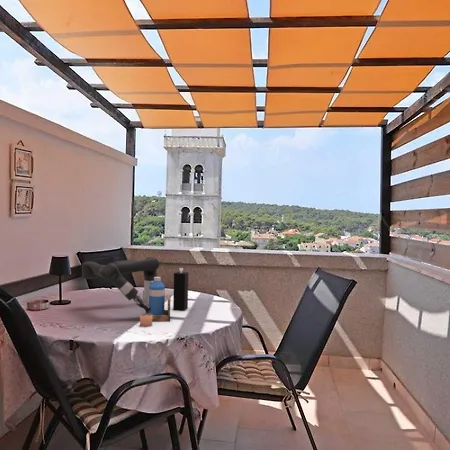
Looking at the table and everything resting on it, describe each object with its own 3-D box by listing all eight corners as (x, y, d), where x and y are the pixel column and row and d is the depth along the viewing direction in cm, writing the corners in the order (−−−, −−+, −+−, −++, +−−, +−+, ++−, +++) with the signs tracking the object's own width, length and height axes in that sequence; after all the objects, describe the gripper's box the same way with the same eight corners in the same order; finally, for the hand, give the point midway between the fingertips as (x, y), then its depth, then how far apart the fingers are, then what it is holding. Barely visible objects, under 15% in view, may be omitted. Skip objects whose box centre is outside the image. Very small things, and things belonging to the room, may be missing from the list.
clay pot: (137, 325, 243) (137, 315, 243) (145, 323, 249) (145, 312, 249) (146, 327, 239) (146, 316, 239) (154, 324, 245) (154, 314, 245)
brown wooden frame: (145, 321, 252) (145, 300, 251) (145, 315, 266) (146, 295, 266) (170, 321, 254) (170, 299, 254) (169, 315, 269) (169, 295, 268)
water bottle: (164, 319, 258) (165, 278, 257) (149, 319, 256) (149, 278, 255) (163, 315, 267) (164, 276, 266) (148, 316, 265) (149, 276, 265)
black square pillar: (184, 311, 282) (185, 268, 281) (172, 310, 283) (173, 268, 282) (187, 308, 289) (188, 267, 288) (176, 307, 291) (177, 266, 290)
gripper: (124, 293, 263) (144, 312, 265) (123, 297, 250) (143, 317, 252) (133, 284, 264) (153, 304, 266) (132, 288, 251) (153, 308, 253)
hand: (148, 310), depth 259 cm, fingers closed
